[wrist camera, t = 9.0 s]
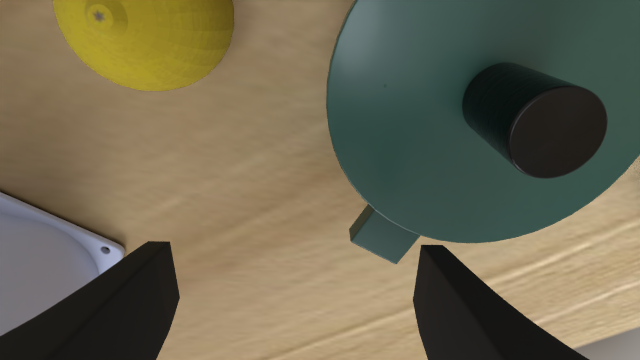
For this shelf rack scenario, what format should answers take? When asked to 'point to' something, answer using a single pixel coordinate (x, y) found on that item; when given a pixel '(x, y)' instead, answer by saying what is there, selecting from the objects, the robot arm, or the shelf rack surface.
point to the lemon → (148, 38)
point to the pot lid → (484, 110)
